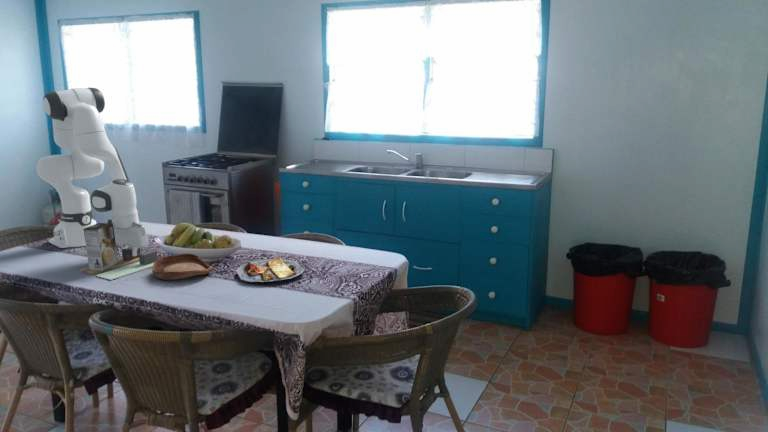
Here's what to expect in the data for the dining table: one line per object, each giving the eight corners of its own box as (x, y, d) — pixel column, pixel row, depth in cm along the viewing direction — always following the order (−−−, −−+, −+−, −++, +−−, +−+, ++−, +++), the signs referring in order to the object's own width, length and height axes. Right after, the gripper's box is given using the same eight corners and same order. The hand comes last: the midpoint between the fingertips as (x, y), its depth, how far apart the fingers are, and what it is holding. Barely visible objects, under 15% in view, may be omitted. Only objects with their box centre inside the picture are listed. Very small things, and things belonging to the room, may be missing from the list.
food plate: (231, 268, 229) (231, 259, 228) (292, 260, 238) (291, 252, 237) (244, 291, 207) (244, 281, 206) (310, 282, 216) (310, 272, 215)
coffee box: (104, 262, 237) (99, 222, 233) (118, 263, 235) (113, 223, 231) (88, 270, 228) (82, 228, 224) (103, 270, 227) (98, 229, 223)
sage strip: (95, 276, 222) (94, 264, 221) (148, 260, 241) (146, 249, 239) (111, 280, 217) (109, 268, 216) (163, 263, 236) (162, 252, 235)
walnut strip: (79, 271, 228) (77, 259, 227) (131, 255, 247) (130, 244, 245) (93, 275, 223) (92, 263, 222) (145, 258, 242) (144, 248, 241)
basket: (223, 274, 223) (222, 262, 222) (171, 289, 209) (170, 275, 208) (193, 262, 238) (191, 249, 237) (143, 274, 225) (141, 261, 223)
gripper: (150, 222, 235) (154, 256, 238) (117, 216, 245) (121, 249, 249) (136, 226, 230) (140, 261, 233) (103, 219, 240) (107, 253, 243)
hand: (130, 255), depth 241 cm, fingers closed on walnut strip, 3 cm apart
